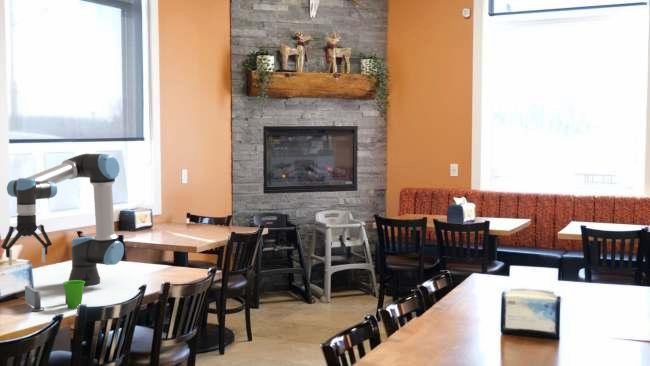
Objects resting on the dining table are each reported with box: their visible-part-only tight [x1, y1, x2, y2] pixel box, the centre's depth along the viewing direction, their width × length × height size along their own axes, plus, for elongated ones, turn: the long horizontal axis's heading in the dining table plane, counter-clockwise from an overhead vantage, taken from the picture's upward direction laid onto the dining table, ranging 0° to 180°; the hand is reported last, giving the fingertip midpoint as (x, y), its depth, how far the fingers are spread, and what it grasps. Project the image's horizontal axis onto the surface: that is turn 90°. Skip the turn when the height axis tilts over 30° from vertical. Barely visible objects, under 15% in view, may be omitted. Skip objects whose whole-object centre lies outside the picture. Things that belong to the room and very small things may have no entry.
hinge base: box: [30, 307, 45, 313], centre depth 326 cm, size 5×5×1 cm
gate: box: [24, 285, 42, 309], centre depth 331 cm, size 17×2×7 cm, turn 36°
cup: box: [62, 280, 85, 310], centre depth 332 cm, size 9×9×11 cm
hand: (27, 263), depth 330 cm, fingers open, 13 cm apart
